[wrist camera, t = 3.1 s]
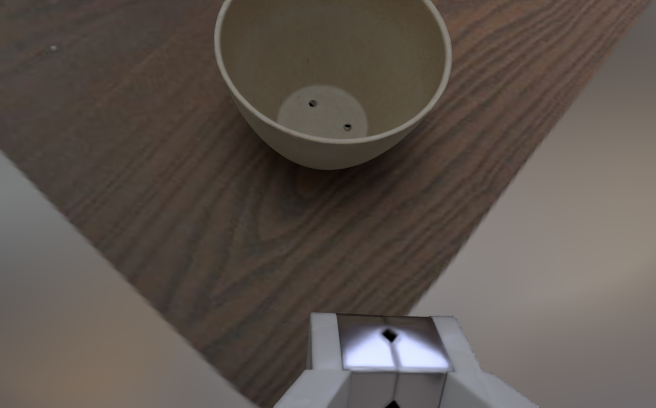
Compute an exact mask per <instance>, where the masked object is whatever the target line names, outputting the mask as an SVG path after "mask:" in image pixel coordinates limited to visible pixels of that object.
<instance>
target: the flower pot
mask: <svg viewBox="0 0 656 408" xmlns="http://www.w3.org/2000/svg"><path fill="white" fill-rule="evenodd" d="M214 48H215V56H216V60H217V63H218V66H219V69H220V72H221V75H222V77H223V80H224V82H225V84H226V87H227V89H228V91H229V93H230V95H231V97H232V99H233V101H234V102H235V104H236V106H237V108H238V109H239V111H240V112H241V114H242V115H243V117H244V118H245V120H246V121H247V122H248V124H249V125H250V126H251V128H252V129H253V130H254V131H255V132H256V133H257V134H258V136H259V137H260V138H261V139H262V140H263V141H264V142H266V143H267V144H268V145H269V146H270V147H271V148H272V149H274V150H275V151H276V152H278V153H279V154H280V155H282V156H284V157H285V158H287V159H289V160H291V161H293V162H295V163H297V164H299V165H302V166H305V167H308V168H313V169H320V170H336V169H343V168H348V167H352V166H356V165H359V164H361V163H364V162H367V161H369V160H371V159H373V158H375V157H377V156H379V155H380V154H382V153H384V152H386V151H387V150H389V149H390V148H392V147H393V146H394V145H396V144H397V143H398V142H400V141H401V140H402V139H403V138H404V137H406V136H407V135H408V134H409V133H410V132H411V131H412V130H413V129H414V128H415V127H416V126H417V125H418V124H419V123H420V122H421V121H422V120H423V119H424V118H425V117H426V116H427V114H428V113H429V112H430V111H431V109H432V108H433V107H434V105H435V104H436V103H437V101H438V100H439V98H440V97H441V95H442V93H443V92H444V90H445V87H446V85H447V82H448V79H449V76H450V72H451V65H452V47H451V41H450V37H449V34H448V31H447V28H446V25H445V23H444V21H443V19H442V17H441V15H440V13H439V12H438V10H437V9H436V7H435V6H434V4H433V3H432V2H431V1H430V0H225V2H224V4H223V6H222V8H221V10H220V12H219V14H218V18H217V21H216V25H215V31H214ZM309 104H312V105H313V107H311V106H310V105H309ZM345 125H350V127H346V126H345Z"/></svg>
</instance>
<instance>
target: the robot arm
mask: <svg viewBox="0 0 656 408" xmlns="http://www.w3.org/2000/svg"><path fill="white" fill-rule="evenodd" d="M273 408H540V407H539V406H537V405H536V404H534V403H533V402H532V401H530V400H529V399H527V398H526V397H525V396H523V395H522V394H520V393H519V392H518V391H516V390H515V389H513V388H512V387H511V386H509V385H508V384H506V383H505V382H504V381H502V380H501V379H499V378H498V377H497V376H495V375H494V374H492V373H486V372H483V370H482V368H481V366H480V364H479V362H478V360H477V358H476V356H475V354H474V352H473V350H472V348H471V346H470V344H469V342H468V341H467V338H466V336H465V334H464V333H463V331H462V329H461V327H460V325H459V323H458V321H457V319H456V318H454V317H453V316H429V317H412V316H383V315H364V314H343V313H336V314H335V313H314V312H311V315H310V323H309V336H308V350H307V366H306V370H304V372H303V373H302V374H301V375H300V376H299V377H298V379H297V380H296V381H295V382H294V383H293V385H292V386H291V387H290V388H289V389H288V390H287V392H286V393H285V394H284V395H283V396H282V397H281V399H280V400H279V401H278V402H277V403H276V405H275V406H274V407H273Z"/></svg>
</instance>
